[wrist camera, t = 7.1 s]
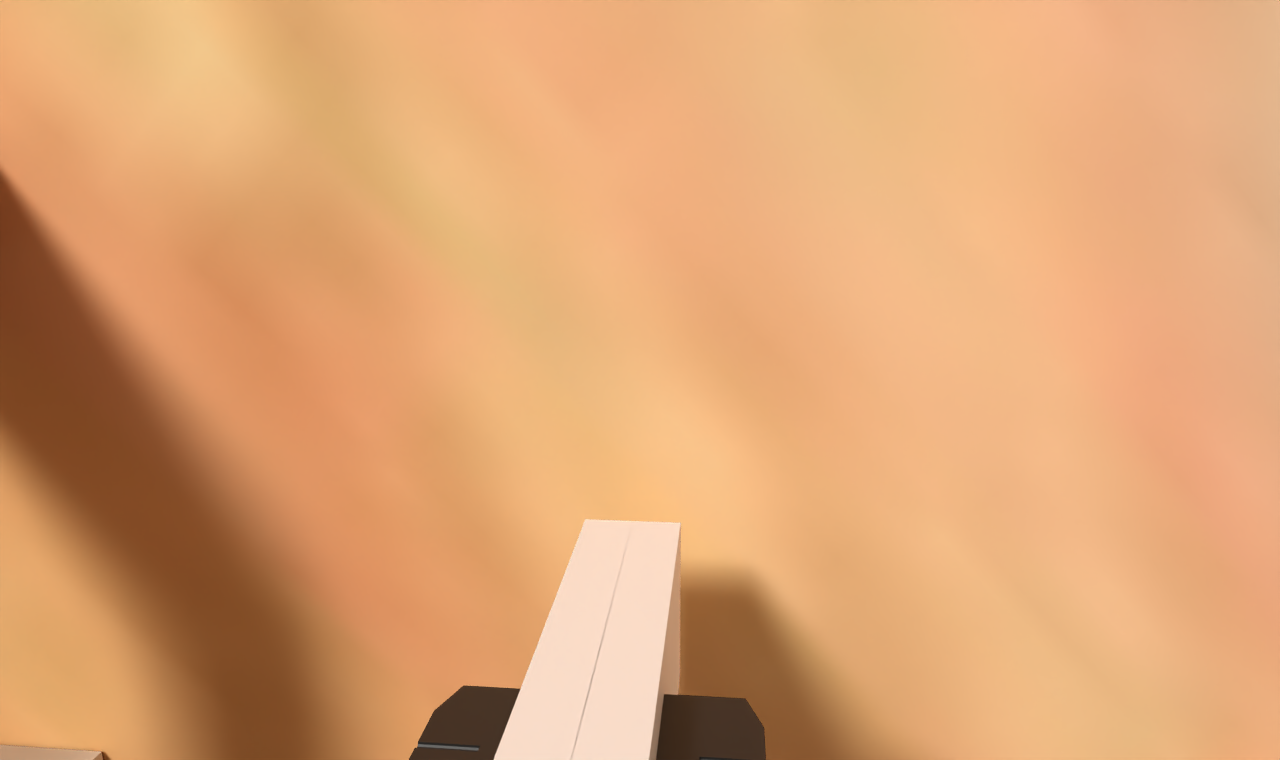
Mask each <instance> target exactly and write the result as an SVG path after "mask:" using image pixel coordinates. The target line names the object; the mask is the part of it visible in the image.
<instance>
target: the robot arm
mask: <svg viewBox="0 0 1280 760" xmlns="http://www.w3.org/2000/svg"><path fill="white" fill-rule="evenodd" d="M680 548H681V523H672V522H644V521H616V520H589V519H585V522H584V524H583V527H582V530H581V532H580V535H579V537H578V540H577V543H576V545H575V548H574V550H573V553H572V556H571V558H570V561H569V564H568V566H567V569H566V571H565V574H564V577H563V579H562V582H561V584H560V587H559V590H558V592H557V595H556V598H555V600H554V603H553V605H552V608H551V611H550V613H549V616H548V618H547V621H546V624H545V626H544V629H543V632H542V634H541V637H540V639H539V642H538V645H537V647H536V650H535V652H534V655H533V658H532V660H531V663H530V666H529V668H528V671H527V673H526V676H525V679H524V681H523V684H522V686H521V689H514V688H497V687H479V686H463V687H461V688H460V689H459V690H458V691H457V692H456V693H454V694H453V695H452V696H451V697H450V698H449V699H447V700H446V701H445V702H444V703H443V704H442V705H440V706H439V707H438V708H437V709H436V710H435V711H434V712H433V714H432V716H431V718H430V720H429V722H428V724H427V726H426V728H425V729H424V731H423V733H422V735H421V737H420V739H419V741H418V747H417V748H415V749H414V751H413V753H412V755H411V756H410V758H409V760H766V755H765V736H764V727H763V725H762V724H761V722H760V721H759V719H758V717H757V716H756V714H755V713H754V711H753V710H752V708H751V707H750V705H749V704H748V702H747V700H746V699H743V698H725V697H708V696H690V695H678V690H679V680H680Z"/></svg>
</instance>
